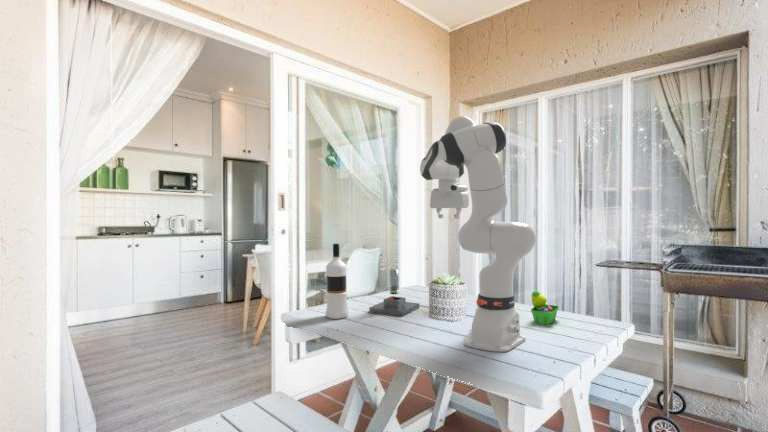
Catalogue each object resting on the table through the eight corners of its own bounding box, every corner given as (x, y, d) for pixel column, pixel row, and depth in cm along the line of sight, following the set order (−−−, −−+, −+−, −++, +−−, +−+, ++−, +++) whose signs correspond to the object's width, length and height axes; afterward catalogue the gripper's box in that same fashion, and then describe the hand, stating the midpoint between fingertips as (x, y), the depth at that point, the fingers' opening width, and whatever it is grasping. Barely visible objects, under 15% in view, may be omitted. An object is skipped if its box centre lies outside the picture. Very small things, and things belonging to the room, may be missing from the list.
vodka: (336, 321, 160) (334, 245, 160) (321, 317, 166) (319, 243, 166) (353, 316, 167) (352, 243, 166) (338, 312, 173) (337, 242, 173)
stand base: (402, 316, 165) (402, 302, 165) (369, 312, 173) (369, 298, 173) (419, 307, 179) (419, 294, 179) (387, 304, 187) (387, 291, 187)
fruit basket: (551, 326, 149) (551, 295, 149) (527, 322, 154) (526, 292, 154) (559, 319, 158) (559, 290, 158) (536, 315, 163) (535, 287, 163)
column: (396, 294, 173) (396, 270, 173) (388, 294, 175) (388, 269, 175) (400, 293, 177) (400, 269, 176) (392, 292, 179) (392, 268, 178)
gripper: (426, 188, 188) (427, 218, 189) (461, 186, 173) (461, 218, 173) (436, 188, 192) (436, 218, 193) (470, 186, 177) (471, 218, 177)
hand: (448, 218), depth 183 cm, fingers open, 8 cm apart
